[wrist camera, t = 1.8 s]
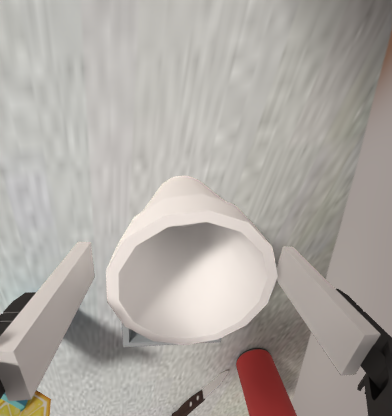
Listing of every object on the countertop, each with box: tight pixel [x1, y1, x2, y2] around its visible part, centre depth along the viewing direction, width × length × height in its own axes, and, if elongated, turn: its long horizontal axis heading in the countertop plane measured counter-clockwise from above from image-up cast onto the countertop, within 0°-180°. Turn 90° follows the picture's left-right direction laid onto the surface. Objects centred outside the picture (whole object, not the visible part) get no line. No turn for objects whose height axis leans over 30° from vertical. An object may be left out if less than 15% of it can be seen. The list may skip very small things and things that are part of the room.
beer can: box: [236, 349, 297, 416], centre depth 31 cm, size 7×7×12 cm
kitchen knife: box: [172, 371, 229, 416], centre depth 38 cm, size 18×1×2 cm, turn 143°
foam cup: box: [106, 176, 278, 345], centre depth 17 cm, size 10×9×13 cm
